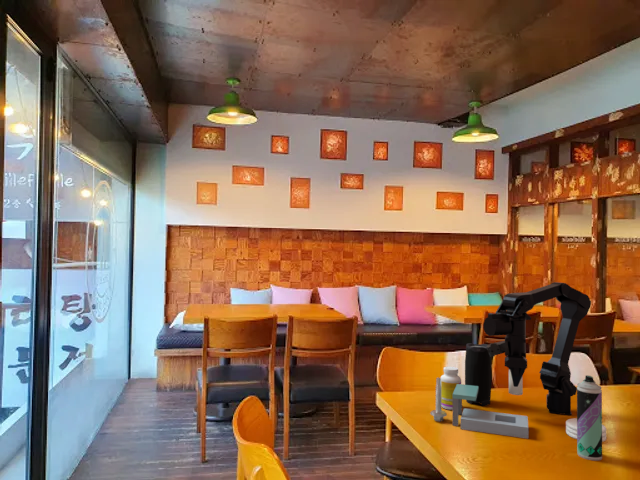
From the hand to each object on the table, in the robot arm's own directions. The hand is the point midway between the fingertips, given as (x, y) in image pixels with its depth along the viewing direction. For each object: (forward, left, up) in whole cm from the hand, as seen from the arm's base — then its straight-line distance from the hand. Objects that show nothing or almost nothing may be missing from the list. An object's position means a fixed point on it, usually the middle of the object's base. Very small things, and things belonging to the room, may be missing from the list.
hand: (515, 384), depth 148 cm
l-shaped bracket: (+14, +9, -10) cm, 20 cm away
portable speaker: (+12, -11, -10) cm, 19 cm away
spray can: (-17, +23, -10) cm, 30 cm away
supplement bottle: (+20, -2, -10) cm, 22 cm away
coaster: (-18, +8, -11) cm, 22 cm away
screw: (+22, +12, -10) cm, 27 cm away
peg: (0, 0, -3) cm, 3 cm away
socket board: (+6, +12, -10) cm, 17 cm away
